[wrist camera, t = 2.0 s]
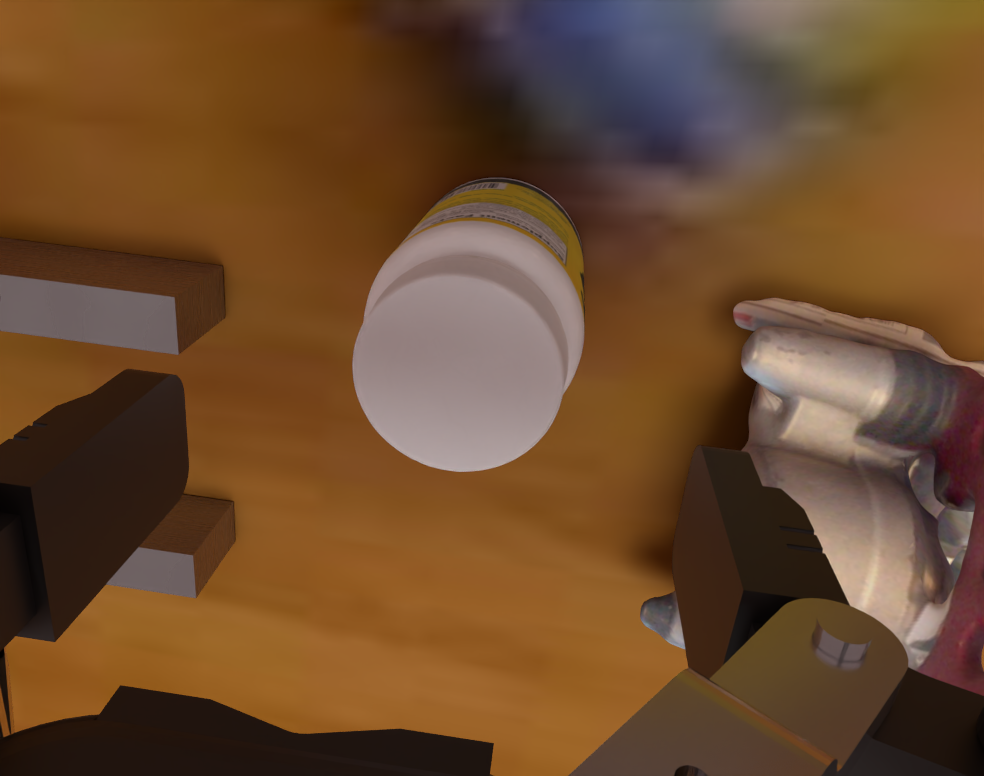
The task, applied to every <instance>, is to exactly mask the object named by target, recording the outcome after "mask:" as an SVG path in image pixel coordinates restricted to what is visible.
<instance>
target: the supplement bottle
mask: <svg viewBox="0 0 984 776" xmlns="http://www.w3.org/2000/svg"><path fill="white" fill-rule="evenodd" d="M584 321H585V306H584V258H583V250H582V244H581V241H580V237H579V234H578V232H577V230H576V227H575V225H574V223H573V222H572V220H571V218H570V217H569V215H568V214H567V212H566V211H565V210H564V209H563V207H562V206H561V205H560V204H559V203H558V202H557V201H556V200H555V199H554V198H552V197H551V196H550V195H548V194H547V193H546V192H544V191H542V190H541V189H539V188H537V187H535V186H533V185H531V184H528V183H526V182H523V181H519V180H515V179H509V178H484V179H479V180H475V181H471V182H468V183H466V184H463V185H461V186H459V187H457V188H455V189H453V190H452V191H450V192H449V193H447V194H446V195H445V196H443V197H442V198H441V199H440V200H439V201H438V202H437V203H435V204H434V206H433V207H432V208H431V209H430V210H429V211H428V213H427V214H426V215H425V216H424V217H423V218H422V220H421V221H420V222H419V223H418V224H417V225H416V226H415V228H414V229H413V230H412V231H411V232H410V233H409V235H408V236H407V237H406V238H405V239H404V240H403V242H402V243H401V244H400V245H399V246H398V247H397V248H396V249H395V251H394V252H393V253H392V254H391V255H390V256H389V257H388V258H387V260H386V261H385V263H384V264H383V266H382V267H381V269H380V271H379V272H378V274H377V276H376V278H375V280H374V282H373V284H372V286H371V289H370V292H369V295H368V299H367V304H366V308H365V313H364V322H363V325H362V327H361V329H360V331H359V334H358V337H357V340H356V343H355V346H354V352H353V363H352V367H353V380H354V385H355V389H356V394H357V397H358V399H359V401H360V404H361V407H362V409H363V411H364V412H365V415H366V416H367V418H368V420H369V421H370V423H371V424H372V425H373V427H374V428H375V429H376V431H377V432H378V433H379V434H380V435H381V436H382V437H383V438H384V439H385V440H386V441H387V442H388V443H389V444H391V445H392V446H393V447H394V448H396V449H397V450H399V451H400V452H401V453H403V454H404V455H406V456H408V457H410V458H411V459H413V460H416V461H418V462H420V463H422V464H425V465H427V466H431V467H435V468H438V469H442V470H448V471H458V472H468V471H480V470H485V469H490V468H495V467H498V466H501V465H503V464H506V463H508V462H510V461H512V460H515V459H516V458H518V457H519V456H521V455H523V454H524V453H526V452H527V451H528V450H529V449H531V448H532V447H533V446H534V445H535V444H536V443H537V442H538V441H539V440H540V439H541V438H542V437H543V436H544V434H545V433H546V432H547V430H548V429H549V428H550V426H551V424H552V423H553V421H554V419H555V417H556V414H557V412H558V410H559V407H560V404H561V400H562V396H563V394H564V393H565V391H566V389H567V388H568V386H569V385H570V383H571V381H572V379H573V377H574V375H575V372H576V370H577V367H578V364H579V361H580V358H581V354H582V350H583V344H584V332H585V327H584Z"/></svg>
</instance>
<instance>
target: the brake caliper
mask: <svg viewBox="0 0 984 776" xmlns="http://www.w3.org/2000/svg"><path fill="white" fill-rule="evenodd" d="M733 317H734V320H735V323H736V324H737V325H738V326H739V327H741V328H743V329H748V330H751V331H754V332H753V333H752V334H751V335H750V337H749V338H748V340H747V341H746V343H745V344H744V346H743V348H742V357H741V365H742V368H743V371H744V372H745V373H746V374H747V375H748V376H749V377H751V378H752V379H754V380H755V381H756V382H757V385H756V388H755V391H754V394H753V398H752V402H751V406H750V411H749V439H748V442H747V444H746V445H745V446H744V448H743V449H742V450H741V451H746V452H748V453H749V454H750V456H751V459H752V461H753V463H754V466H755V468H756V471H757V473H758V476H759V478H760V481H761V483H762V485H763V486H767V487H775V488H781V489H782V490H783V491H784V492H786V493H787V494H788V495H789V496H790V497H791V498H792V499H793V500H795V501H796V502H797V503H798V504H799V505H800V506H801V507H802V508H804V510H805V512H806V514H807V516H808V518H809V520H810V522H811V525H812V527H813V529H814V535H817V537H818V539H819V541H820V543H821V546H822V548H823V553H825V554H826V556H827V558H828V560H829V562H830V564H831V567H832V569H833V571H834V573H835V575H836V577H837V579H838V581H839V583H840V585H841V588H842V590H843V592H844V594H845V596H846V598H847V600H848V602H849V604H850V606H852V607H854V608H856V609H858V610H861V611H863V612H865V613H866V614H868V615H870V616H872V617H874V618H875V619H877V620H878V621H879V622H881V623H882V624H884V625H885V626H886V627H887V628H888V629H890V630H891V631H892V632H893V633H894V634H895V635H896V637H897V638H898V639H899V640H900V642H901V643H902V644H903V646H904V648H905V650H906V652H907V656H908V660H909V661H908V667H909V668H911V669H913V670H916V671H918V672H920V673H922V674H924V675H927V676H929V677H932V678H934V679H937V680H940V681H943V682H946V683H949V684H951V685H954V686H957V687H960V688H963V689H966V690H968V691H971V692H974V693H977V694H980V695H983V696H984V671H983V668H982V664H981V654H982V649H983V645H984V361H972V362H966V361H961V360H957V359H954V358H951V357H949V356H948V355H947V354H946V353H945V352H944V351H943V349H942V348H941V346H940V344H939V343H938V342H937V341H936V340H935V339H934V338H933V337H932V336H931V335H930V334H928V333H927V332H925V331H924V330H921V329H919V328H915V327H912V326H908V325H905V324H902V323H899V322H895V321H886V320H880V319H873V318H855V317H852V316H850V315H846V314H842V313H838V312H830V311H828V310H826V309H824V308H822V307H820V306H817V305H813V304H809V303H806V302H800V301H791V300H784V299H780V298H767V299H763V300H758V301H743V302H740V303H738V304H737V305H736V306H735V308H734V310H733ZM640 618H641V621H642V622H643V624H644V625H645V626H646V627H648V628H650V629H651V630H654V631H655V632H657V633H658V634H660V635H661V636H662V637H663V638H664V639H665V640H666V641H667V642H669V643H671V644H673V645H675V646H678V647H680V648H683V649H685V644H684V638H683V632H682V626H681V620H680V615H679V609H678V603H677V597H676V591H674V592H672V593H670V594H668V595H664V596H661V597H654V598H651V599H649V600H647V601H645V602H644V603H643V605H642V607H641V613H640Z"/></svg>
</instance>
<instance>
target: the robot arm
mask: <svg viewBox="0 0 984 776" xmlns="http://www.w3.org/2000/svg"><path fill="white" fill-rule="evenodd" d="M188 471H189V458H188V443H187V427H186V412H185V397H184V388H183V384H182V382H181V380H180V378H179V377H178V376H176V375H172V374H164V373H156V372H149V371H141V370H134V369H126V370H124V371H122V372H121V373H120V374H118V375H117V376H115V377H114V378H113V379H111V380H110V381H108V382H107V383H105V384H104V385H103V386H101V387H100V388H98V389H97V390H96V391H94V392H93V393H91V394H88V395H86V396H83V397H80V398H77V399H75V400H72V401H69V402H67V403H64V404H61V405H58V406H56V407H54V408H53V409H52V410H50V411H49V412H47V413H46V414H44V415H43V416H41V417H40V418H39V419H37V420H36V421H34V422H33V425H32V426H29V425H28V426H27V427H25V428H24V429H23V430H21V431H20V432H18V433H17V434H15V435H14V438H13V439H8V440H7V441H5V442H4V443H2V444H1V445H0V776H493V775H491V774H490V768H491V761H492V753H493V745H494V743H488V742H482V741H475V740H469V739H463V738H456V737H450V736H443V735H437V734H430V733H424V732H417V731H411V730H405V729H387V730H369V731H351V732H332V733H314V734H298V733H292V732H289V731H286V730H284V729H281V728H279V727H277V726H274V725H272V724H269V723H267V722H264V721H262V720H259V719H257V718H255V717H252V716H250V715H247V714H245V713H242V712H240V711H237V710H235V709H233V708H230V707H228V706H225V705H223V704H220V703H218V702H216V701H213V700H211V699H205V698H198V697H192V696H186V695H179V694H173V693H166V692H160V691H153V690H147V689H140V688H134V687H128V686H121V685H120V687H119V688H118V689H117V691H116V692H115V694H114V695H113V696H112V698H111V699H110V701H109V702H108V703H107V705H106V706H105V707H104V709H103V710H102V712H101V713H100V714H99V715H88V716H81V717H74V718H67V719H62V720H58V721H54V722H49V723H45V724H41V725H38V726H34V727H31V728H28V729H25V730H22V731H19V732H16V733H15V729H14V718H13V707H12V695H11V684H10V673H9V664H8V659H7V653H6V648H5V646H6V645H7V644H8V643H9V642H10V641H11V640H12V639H13V638H14V637H15V636H19V637H26V638H32V639H39V640H45V641H52V642H56V640H57V639H58V638H59V637H60V636H61V635H62V634H63V632H64V631H65V630H66V629H67V628H68V627H69V626H70V624H71V623H72V622H73V621H74V620H75V619H76V618H77V617H78V615H79V614H80V613H81V612H82V611H83V610H84V609H85V607H86V606H87V605H88V604H89V603H90V602H91V601H92V599H93V598H94V597H95V596H96V595H97V594H98V593H99V592H100V590H101V589H102V588H103V587H104V586H105V585H106V584H107V582H108V581H109V580H110V579H111V578H112V577H113V576H114V575H115V573H116V572H117V571H118V570H119V569H120V568H121V567H122V565H123V564H124V563H125V562H126V561H127V560H128V559H129V557H130V556H131V555H132V554H133V553H134V552H135V551H136V550H137V548H138V547H139V546H140V545H141V544H142V543H143V542H144V540H145V539H146V538H147V537H148V536H149V535H150V534H151V533H152V531H153V530H154V529H155V528H156V527H157V526H158V525H159V523H160V522H161V521H162V520H163V519H164V518H165V517H166V515H167V514H168V513H169V512H170V511H171V510H172V509H173V508H174V506H175V505H176V504H177V503H178V501H179V500H180V498H181V496H182V494H183V492H184V489H185V486H186V483H187V478H188ZM672 573H673V579H674V585H675V591H676V597H677V603H678V609H679V615H680V620H681V626H682V632H683V638H684V644H685V650H686V656H687V661H688V667H689V668H688V669H685V670H683V671H682V672H680V673H679V674H678V675H677V676H675V677H674V678H673V679H672V680H671V681H670V682H669V683H668V684H667V685H666V686H665V687H664V688H663V689H661V690H660V691H659V692H658V693H657V694H656V695H655V696H654V697H653V698H652V699H651V700H650V701H649V702H647V703H646V704H645V705H644V706H643V707H642V708H641V709H640V710H639V711H638V712H637V713H636V714H634V715H633V716H632V717H631V718H630V719H629V720H628V721H627V722H626V723H625V724H624V725H623V726H622V727H620V728H619V729H618V730H617V731H616V732H615V733H614V734H613V735H612V736H611V737H610V738H609V739H608V740H606V741H605V742H604V743H603V744H602V745H601V746H600V747H599V748H598V749H597V750H596V751H595V752H594V753H592V754H591V755H590V756H589V757H588V758H587V759H586V760H585V761H584V762H583V763H582V764H581V765H580V766H578V767H577V768H576V769H575V770H574V771H573V772H572V773H571V774H570V775H569V776H984V696H983V695H980V694H977V693H974V692H971V691H968V690H966V689H963V688H960V687H957V686H954V685H951V684H949V683H946V682H943V681H940V680H937V679H934V678H932V677H929V676H927V675H924V674H922V673H920V672H918V671H916V670H913V669H911V668H909V667H908V661H909V660H908V656H907V652H906V650H905V648H904V646H903V644H902V643H901V642H900V640H899V639H898V638H897V637H896V635H895V634H894V633H893V632H892V631H891V630H890V629H888V628H887V627H886V626H885V625H884V624H882V623H881V622H879V621H878V620H877V619H875V618H874V617H872V616H870V615H868V614H866V613H865V612H863V611H861V610H858V609H856V608H854V607H852V606H850V604H849V602H848V600H847V598H846V596H845V594H844V592H843V590H842V588H841V585H840V583H839V581H838V579H837V577H836V575H835V573H834V571H833V569H832V567H831V564H830V562H829V560H828V558H827V556H826V554H825V553H823V548H822V546H821V543H820V541H819V539H818V537H817V535H814V529H813V527H812V525H811V522H810V520H809V518H808V516H807V514H806V512H805V510H804V508H802V507H801V506H800V505H799V504H798V503H797V502H796V501H795V500H793V499H792V498H791V497H790V496H789V495H788V494H787V493H786V492H784V491H783V490H782V489H781V488H775V487H767V486H763V485H762V483H761V481H760V478H759V476H758V473H757V471H756V468H755V466H754V463H753V461H752V459H751V456H750V454H749V453H748V452H746V451H738V450H731V449H723V448H716V447H708V446H701V445H698V446H697V447H696V449H695V450H694V453H693V456H692V460H691V464H690V468H689V473H688V477H687V482H686V486H685V490H684V495H683V499H682V504H681V508H680V513H679V517H678V522H677V526H676V531H675V536H674V542H673V552H672Z"/></svg>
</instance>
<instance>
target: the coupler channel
mask: <svg viewBox="0 0 984 776" xmlns="http://www.w3.org/2000/svg"><path fill="white" fill-rule="evenodd" d="M224 318H225V304H224V281H223V266H220V265H212V264H205V263H197V262H189V261H181V260H173V259H165V258H158V257H150V256H142V255H134V254H126V253H118V252H111V251H103V250H95V249H87V248H79V247H71V246H64V245H56V244H48V243H40V242H32V241H24V240H16V239H9V238H1V237H0V331H6V332H14V333H21V334H29V335H36V336H43V337H51V338H58V339H66V340H73V341H81V342H88V343H95V344H103V345H110V346H118V347H125V348H133V349H140V350H147V351H155V352H162V353H170V354H177V355H179V354H180V353H181V352H183V351H184V350H185V349H186V348H188V347H189V346H190V345H191V344H193V343H194V342H195V341H196V340H198V339H199V338H200V337H201V336H203V335H204V334H205V333H207V332H208V331H209V330H210V329H212V328H213V327H214V326H215V325H217V324H218V323H219V322H220V321H222V320H223V319H224ZM234 542H235V527H234V505H233V502H232V501H225V500H218V499H211V498H205V497H198V496H191V495H184V494H182V496H181V498H180V500H179V501H178V503H177V504H176V505H175V506H174V508H173V509H172V510H171V511H170V512H169V513H168V514H167V515H166V517H165V518H164V519H163V520H162V521H161V522H160V523H159V525H158V526H157V527H156V528H155V529H154V530H153V531H152V533H151V534H150V535H149V536H148V537H147V538H146V539H145V540H144V542H143V543H142V544H141V545H140V546H139V547H138V548H137V550H136V551H135V552H134V553H133V554H132V555H131V556H130V557H129V559H128V560H127V561H126V562H125V563H124V564H123V565H122V567H121V568H120V569H119V570H118V571H117V572H116V573H115V575H114V576H113V577H112V578H111V579H110V580H109V581H108V582H107V585H114V586H120V587H127V588H133V589H140V590H146V591H153V592H159V593H166V594H173V595H179V596H186V597H192V598H197V596H198V595H199V593H200V592H201V590H202V589H203V587H204V586H205V584H206V583H207V582H208V580H209V579H210V577H211V576H212V574H213V573H214V571H215V570H216V568H217V567H218V566H219V564H220V563H221V561H222V560H223V558H224V557H225V555H226V554H227V552H228V551H229V550H230V548H231V547H232V545H233V544H234Z"/></svg>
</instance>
